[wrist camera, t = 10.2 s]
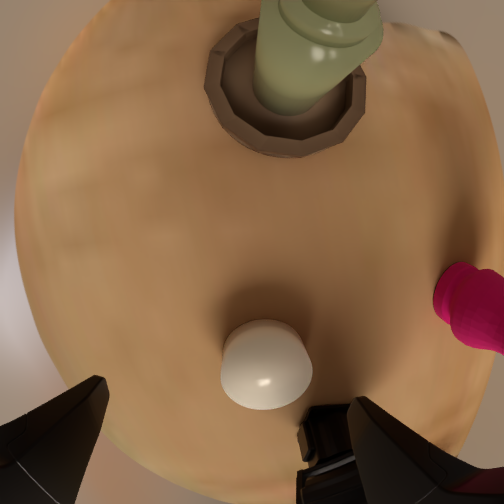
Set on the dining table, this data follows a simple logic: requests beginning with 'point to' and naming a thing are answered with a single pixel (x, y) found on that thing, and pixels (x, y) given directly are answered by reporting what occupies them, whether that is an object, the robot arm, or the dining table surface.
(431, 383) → the dining table surface
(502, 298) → the pepper mill
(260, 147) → the tray
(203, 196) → the dining table surface
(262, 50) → the bottle
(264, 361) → the white rounded puck
